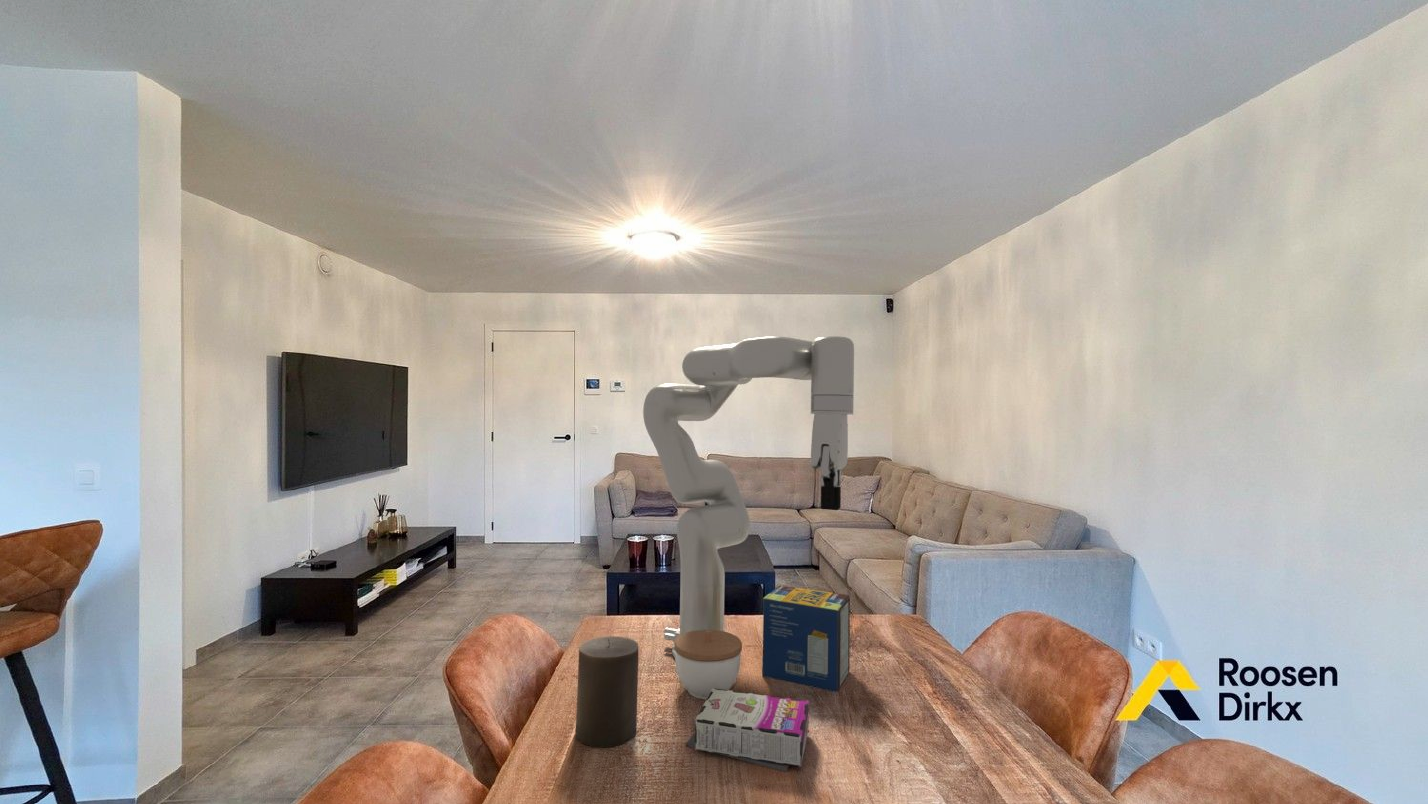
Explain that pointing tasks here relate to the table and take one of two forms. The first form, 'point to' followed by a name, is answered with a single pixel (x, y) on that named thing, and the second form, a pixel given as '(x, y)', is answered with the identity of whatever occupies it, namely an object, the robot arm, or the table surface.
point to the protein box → (806, 637)
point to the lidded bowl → (707, 661)
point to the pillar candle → (607, 691)
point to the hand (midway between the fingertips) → (830, 508)
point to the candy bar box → (753, 726)
